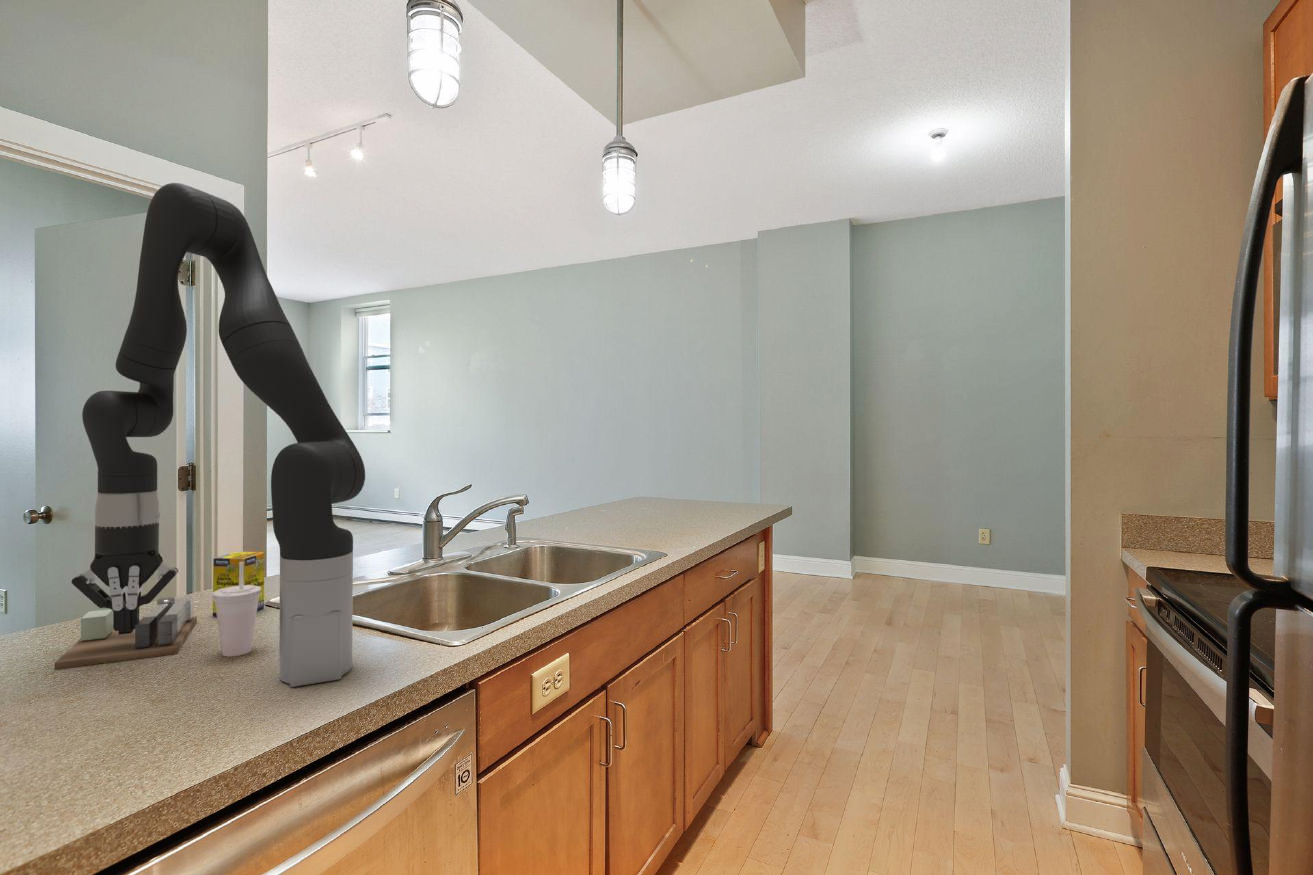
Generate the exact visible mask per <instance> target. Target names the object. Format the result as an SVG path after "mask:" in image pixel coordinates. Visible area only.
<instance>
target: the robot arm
mask: <svg viewBox="0 0 1313 875" xmlns="http://www.w3.org/2000/svg"><path fill="white" fill-rule="evenodd" d="M144 222H145V223H144V230H143V236H142V243H141V249H140V250H141V251H140V256H139V264H138V273H137V284H136V291H135V296H134V303H133V307H132V308H133V309H132V313H131V314H130V319H129V323H128V324H127V328H126V329H125V330H126V331H125V333H124V337H123V340H122V343H121V346H120V349H119V350H118V353H117V357H116V360H115V369H116V371H117V373H118V374H120V375H121V376H123V377H124V378H126V379H129V380H132V381H135V382H137V383H139V388H138V391H137V392H136V391H122V390H121V391H120V390H100V391H97V392H95V393H93V394H91V395H90V396H89V397H88V398H87V400H85V403H84V405H83V408H82V414H81V417H82V424H83V428H84V430H85V433H86V435H87V438H88V441H89V444H90V447H91V450H92V453H93V456H94V459H95V462H96V464H97V465H96V466H97V496H96V502H95V505H94V506H95V507H94V557H93V559H92V561H91V563H90V565H89V569H88V570H86V571H85V572H82V573H80V574H78V575H77V576H75V577H73V578H72V580H71V584H72V585H73V587H75V588H76V589H77V590H78V591H80V592H81V593H82V594H83V595H84V596H85V597H86V598H87V599H89V600H90V601H91V602H92V603H93V604H94V605H95V606H97V607H98V608H99V609H108V610H109V609H111V610H113V628H114V630H115V631H118V633H119V635H120V634H129V633H132V632H133V630H134V629H135V625H136V624H137V623H138V622H139V621H140V607H141V606H143V605H149V604H151V602H152V601H154V599H155V598H156V597H157V596H159V594H160V592H161V591H163V590H164V588H165V587H166V586H167V585H168V584H169V583H170V582H171V581H172V580H173V578H175V577H176V576H177V574H178V573H179V568H177V567H171V566H169V565H167V563H164V560H163V557H162V555H161V554H160V551H159V548H160V547H159V546H160V543H159V542H160V537H159V536H160V518H161V511H160V502H159V496H158V495H159V494H158V461H157V459H156V457H155V456H153V455H152V454H148V453H145V452H137V451H136V450H135V451H134V450H133V449H132V447H131V446H130V444H129V441H128V438H152V437H157V436H159V435H161V434H162V433H164V432H165V431H166V430H168V429H167V428H169V426H170V425H171V423H172V421H173V416H174V391H175V390H174V388H175V387H174V385H175V383H174V382H175V380H174V379H175V378H174V377H175V373H176V370H177V367H178V365H179V362H180V359H181V355H182V354H183V350H184V348H185V344H186V339H187V331H188V330H187V329H188V327H187V320H186V315H185V314H186V313H185V312H184V308H183V304H182V299H181V295H180V294H181V293H180V289H179V288H180V287H179V273H180V269H181V266H182V264H183V261H184V257H185V256H186V254H187V253H190V254H192V255H196V256H199V257H200V256H201V257H203V258H206V259H207V260H208V261H209V262H210V263H211V266H213V269H214V270H215V272H216V274H217V276H218V278H219V280H220V283H221V284H222V287H223V291H224V299H223V304H222V307H221V311H220V314H219V319H218V336H219V339H220V341H221V345H222V347H223V349H224V350H225V353H226V355H227V357H228V359H229V361H230V364H231V366H232V367H233V369H234V371H235V373H236V376H237V377H238V378H239V379H240V381H241V382H242V383H243V384H244V385H245V386H246V388H248V389H249V390H250V391H251V392H252V393H253V394H254V395H255V396H256V397H257V398H258V399H260V401H262V402H263V403H264V404H265V405H266V406H267V407H268V408H270V409H271V410H272V411H273V412H275V414H277V415H278V417H279V418H280V419H281V420H282V421H283V422H284V423H285V425H287V427H288V428H289V430H290V432H291V433H292V435H293V437H294V438H295V440H296V443H295V442H294V443H292V444H289V445H287V446H285V447H284V448H282V449H281V450H280V451H279V453H277V455H276V457H275V459H274V462H273V464H272V468H271V476H270V495H271V509H272V513H271V514H272V524H273V525H272V526H273V533H274V536H275V539H276V540H277V543H278V547H279V636H278V637H279V638H278V640H279V646H278V647H279V671H278V672H279V673H278V674H279V677H278V678H279V680H280V681H282V682H283V683H285V684H289V685H290V686H289V687H291V688H294V687H300V686H301V687H302V686H306V685H312V684H317V683H318V684H319V683H325V682H331V681H337V680H341V679H342V678H343V675H346V674H347V673H349V672H350V671H351V670H352V668H353V615H354V614H353V604H354V602H353V599H354V598H353V597H354V596H353V595H354V593H353V590H354V589H353V588H354V586H353V585H354V584H353V583H354V581H353V580H354V579H353V577H354V572H353V571H354V536H353V533H352V531H351V530H348V529H347V528H342V527H339V526H338V525H337V524H336V523H335V521H334V515H333V504H338V503H344V502H347V501H351V500H353V499H354V498H356V497H357V496H358V495H359V494H360V492H361V491H362V490H363V488H364V485H365V481H366V470H365V469H366V468H365V464H364V460H363V459H362V456H361V454H360V452H359V450H358V448H357V446H356V445H355V444H354V443H355V442H353V440H352V439H351V437H350V436H349V434H348V432H347V431H346V429H345V428H344V426H343V425H342V423H341V421H340V420H339V418H338V417H337V415H336V414H335V412H334V410H333V408H332V406H331V405H330V403H329V401H328V399H327V397H326V396H325V393H324V391H323V389H322V387H321V386H320V384H319V381H318V380H317V377H316V376H315V374H314V372H313V370H312V368H311V366H310V363H309V362H308V359H307V358H306V355H305V352H304V350H303V348H302V346H301V343H300V342H299V339H298V337H297V335H296V333H295V332H294V329H293V327H292V325H291V324H290V321H289V320H288V318H287V316H286V314H285V313H284V310H283V308H282V306H281V304H280V302H279V300H278V299H279V298H278V297H277V295H276V293H275V291H274V290H275V289H274V288H273V286H272V284H271V282H270V279H269V278H268V275H267V273H266V270H265V268H264V265H263V262H262V259H261V257H260V254H259V251H258V248H257V245H256V241H255V239H254V238H255V237H253V234H252V230H251V228H250V226H249V223H248V221H247V219H246V217H245V216H244V215H243V213H242V212H241V210H240V209H239V208H238V207H237V206H235V205H234V204H233V203H231V202H230V201H229V200H226V199H224V198H221V197H218V196H215V195H213V194H212V193H211V194H210V193H208V192H205V191H203V190H200V189H198V188H195V187H192V186H190V185H187V184H184V183H179V182H171V183H167V184H164V185H163V186H161V187H160V188H159V189H158V190H156V192H155V193H154V194H153V196H152V199H151V200H150V203H149V205H148V209H147V212H146V216H145V221H144ZM157 571H158V572H157ZM156 572H157V574H156V578H157V579H158V581H157V582H156V583H155V585H154V586H152V588H151V589H150V590H149V591H148V592H147V593H146V594H143V595H142V593H143V589H144V584H145V583H146V582H148V580H149V579H151V577H152V576H153V575H154V574H155V573H156ZM97 578H98V579H99V580H100V581H101V582H102V583H103V584H104V585H105V586H107V587H108V588H109V594H110V595H109V594H108V593H107V592H106V591H105V590H104V589H103V588H101V586H99V585H98V584H97V583H96V582H97Z"/></svg>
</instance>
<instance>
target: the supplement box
mask: <svg viewBox="0 0 1313 875" xmlns="http://www.w3.org/2000/svg"><path fill="white" fill-rule="evenodd" d="M265 555H266V554H265V552H263V551H233V552H231V553H227V554H224V555H220V556H215V557H213V558H212V568H213V569H212V572H213V573H212V574H213V575H212V578H213V579H212V593H213V592H215V591H217V590H219V589H223V588H227V587H233V586H239V562H244V585H254V586H259V587H261V593H262V594H261V595H260V596H259V599H258V607H257V612H258V611H261V610H263V609H264V608H265ZM212 617H213V618H217V614H216V607H215V602H214V601H212Z"/></svg>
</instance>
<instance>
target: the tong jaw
mask: <svg viewBox="0 0 1313 875" xmlns="http://www.w3.org/2000/svg"><path fill="white" fill-rule="evenodd" d="M168 610H169V604H160V605H157V604H156V605H155V606H154V607H153V608H152V609H150V611H148V613H147V614H146V615H144V616H143V617H142V618H141V619H139V622H138V623H137V624H136V625H135V649H136V648H145V647H150V646H151V644H152V643H153V642H154V641H155V640H156V639H157V637H158V622H159V621H160V620H161V618H162V617H163V616H164V615H165V614H166V613H167V612H168Z"/></svg>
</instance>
